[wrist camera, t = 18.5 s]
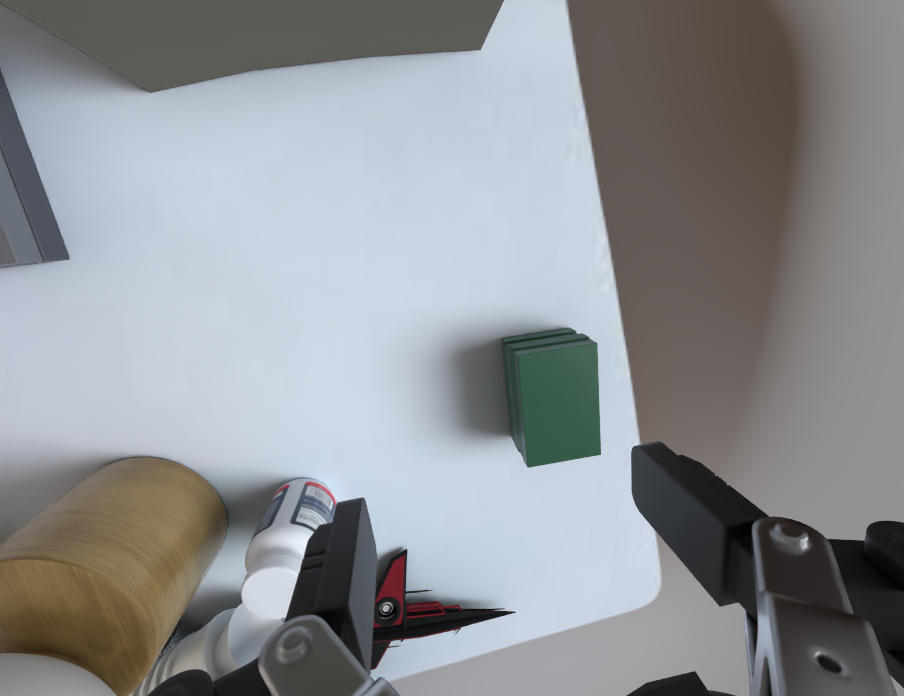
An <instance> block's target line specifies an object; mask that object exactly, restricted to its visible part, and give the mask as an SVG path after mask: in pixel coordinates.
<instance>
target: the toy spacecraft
mask: <svg viewBox="0 0 904 696" xmlns="http://www.w3.org/2000/svg"><path fill="white" fill-rule="evenodd" d="M406 566H407V549H406V550H404V551H403V552H401V553H399V554H398V555H396V556H395V557H393V558H392V559H391V561H390V563H389V565H388V567H387V569H386V570H385V572H384V574H383V576H382V578H381V580H380V582H379V584H378V586H377V588H376V590H375V606H374V622H373V638H372V654H371V670H373V669H376V667H377V666H378V664H379V662H380V660H381V658H382V657H383V655H384V653H385V651H386V650H387V648H390V647H397V646H390V647H388V646H389V644H390V643H391V641H394V640H401V642H402V641H403V640H404V639H412V638H420V637H425V636H430V635H434V634H439V633H443V632H448V631H452V630H455V631H456V630H457V629H459V630H460V629H461V627H464V626H468V625H471V624H475V623H478V622H482V621H486V620H489V619H493V618H497V617H501V616H504V615H508V614H512V613H515V612H512V611H494V610H499V609H462V608H461V607H460V606H459V605H453V606H443V605H442V604H440V603H439V602H438V601H432V602H422V603H412V604H407V601H405V594H406V593H417V592H425V591H432V590H422V591H408V592H406ZM392 603H393V604H394V607H393V604H392ZM435 603H437V604H435ZM424 604H428V605H424ZM414 605H418V606H414ZM434 605H438V606H434ZM424 606H428V607H424ZM379 607H380V608H379ZM413 607H418V608H413ZM455 607H459V608H455ZM378 609H379V610H380V611H379V610H378ZM501 609H505V608H501ZM459 630H458V631H459ZM458 631H457V632H458ZM457 632H456V633H457Z"/></svg>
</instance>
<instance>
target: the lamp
mask: <svg viewBox="0 0 904 696" xmlns="http://www.w3.org/2000/svg"><path fill="white" fill-rule="evenodd" d="M226 534H227V515H226V511H225V507H224V505H223V502H222V500H221V498H220V497H219V495H218V493H217V492H216V491H215V489H214V488H213V487H212V486H211V485H210V484H209V483H208V482H207V481H206V480H205V479H204V478H203V477H201V476H200V475H199V474H197V473H196V472H194V471H193V470H191V469H189V468H187V467H185V466H183V465H180V464H178V463H175V462H172V461H168V460H164V459H159V458H149V457H139V458H129V459H124V460H120V461H116V462H113V463H110V464H108V465H105V466H103V467H101V468H100V469H98V470H96V471H95V472H94V473H92V474H91V475H89V476H88V477H87V478H85V479H84V480H83V481H82V482H80V483H79V484H78V485H76V486H75V487H74V488H72V489H71V490H70V491H68V492H67V493H66V494H65V495H63V496H62V497H61V498H59V499H58V500H57V501H55V502H54V503H53V504H51V505H50V506H49V507H47V508H46V509H45V510H44V511H42V512H41V513H40V514H38V515H37V516H36V517H34V518H33V519H32V520H30V521H29V522H28V523H26V524H25V525H24V526H23V527H21V528H20V529H19V530H17V531H16V532H15V533H13V534H12V535H11V536H9V537H8V538H7V539H5V540H4V541H3V542H2V543H0V696H129V695H130V694H131V693H133V692H134V691H135V690H136V689H137V688H138V687H139V686H140V684H141V683H142V682H143V681H144V679H145V678H146V676H147V675H148V673H149V671H150V670H151V668H152V666H153V665H154V663H155V661H156V660H157V658H158V656H159V654H160V653H161V651H162V649H163V648H164V646H165V644H166V642H167V641H168V639H169V637H170V636H171V634H172V632H173V630H174V629H175V627H176V625H177V624H178V622H179V620H180V618H181V617H182V615H183V613H184V612H185V610H186V608H187V606H188V605H189V603H190V601H191V600H192V598H193V596H194V594H195V593H196V591H197V589H198V588H199V586H200V584H201V583H202V581H203V579H204V577H205V576H206V574H207V572H208V571H209V569H210V567H211V565H212V564H213V562H214V560H215V559H216V557H217V555H218V553H219V552H220V550H221V548H222V546H223V544H224V541H225V538H226Z"/></svg>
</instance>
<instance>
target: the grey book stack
mask: <svg viewBox="0 0 904 696" xmlns="http://www.w3.org/2000/svg"><path fill="white" fill-rule="evenodd" d="M67 259H70V258H69V255H68V252H67V249H66V247H65V244H64V241H63V239H62V236H61V233H60V230H59V228H58V225H57V222H56V220H55V217H54V214H53V211H52V209H51V206H50V203H49V201H48V198H47V195H46V192H45V190H44V187H43V184H42V182H41V179H40V176H39V173H38V171H37V168H36V165H35V163H34V160H33V157H32V154H31V152H30V149H29V146H28V144H27V141H26V138H25V135H24V133H23V130H22V127H21V125H20V122H19V119H18V116H17V114H16V111H15V108H14V106H13V103H12V100H11V97H10V95H9V92H8V89H7V87H6V84H5V81H4V78H3V76H2V73H1V70H0V268H5V267H13V266H21V265H28V264H36V263H44V262H52V261H60V260H67Z"/></svg>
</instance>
